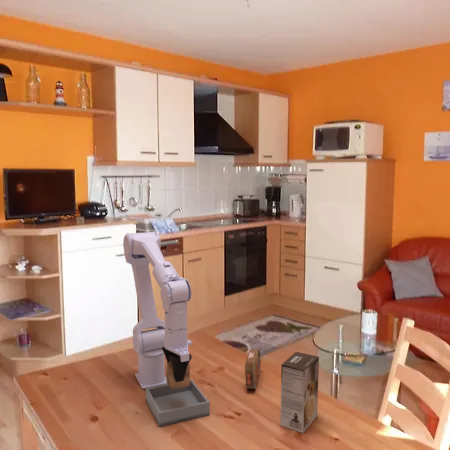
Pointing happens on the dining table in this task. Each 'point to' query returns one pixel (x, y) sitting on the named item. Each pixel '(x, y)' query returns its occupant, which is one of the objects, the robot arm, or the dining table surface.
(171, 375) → the block
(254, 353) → the tin
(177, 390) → the bin
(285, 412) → the coffee box
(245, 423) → the dining table surface
